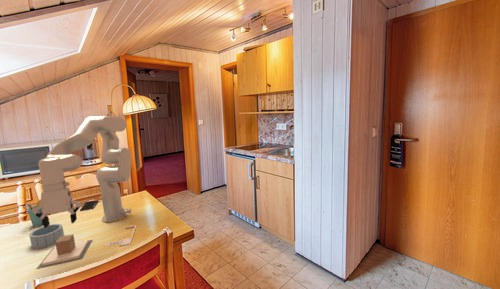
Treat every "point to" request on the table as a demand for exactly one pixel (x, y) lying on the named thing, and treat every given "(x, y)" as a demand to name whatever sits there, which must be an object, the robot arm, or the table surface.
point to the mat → (67, 260)
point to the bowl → (46, 236)
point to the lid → (65, 250)
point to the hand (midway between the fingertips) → (60, 224)
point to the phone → (89, 205)
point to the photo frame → (123, 240)
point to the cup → (34, 219)
